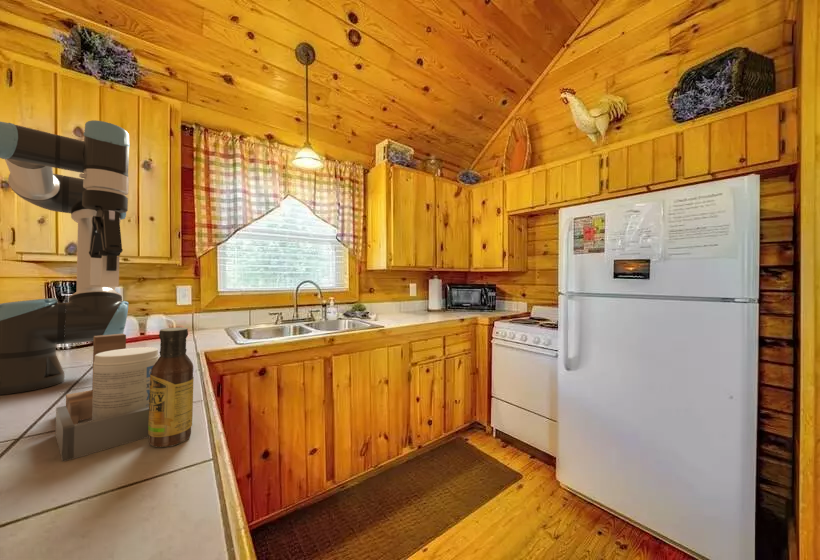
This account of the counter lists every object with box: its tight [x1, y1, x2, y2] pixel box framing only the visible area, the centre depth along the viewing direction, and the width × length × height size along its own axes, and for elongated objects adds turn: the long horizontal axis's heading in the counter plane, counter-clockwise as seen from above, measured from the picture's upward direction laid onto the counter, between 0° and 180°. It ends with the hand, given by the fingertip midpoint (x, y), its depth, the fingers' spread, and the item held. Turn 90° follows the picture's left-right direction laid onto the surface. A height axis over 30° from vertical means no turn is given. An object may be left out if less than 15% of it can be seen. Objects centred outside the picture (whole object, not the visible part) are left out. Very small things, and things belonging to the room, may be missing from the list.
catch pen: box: [54, 405, 150, 462], centre depth 61 cm, size 14×17×5 cm
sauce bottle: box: [148, 326, 194, 448], centre depth 57 cm, size 6×6×20 cm
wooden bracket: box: [65, 333, 127, 424], centre depth 70 cm, size 10×13×16 cm
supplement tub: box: [91, 346, 160, 420], centre depth 62 cm, size 10×10×15 cm
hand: (103, 285), depth 73 cm, fingers open, 13 cm apart
